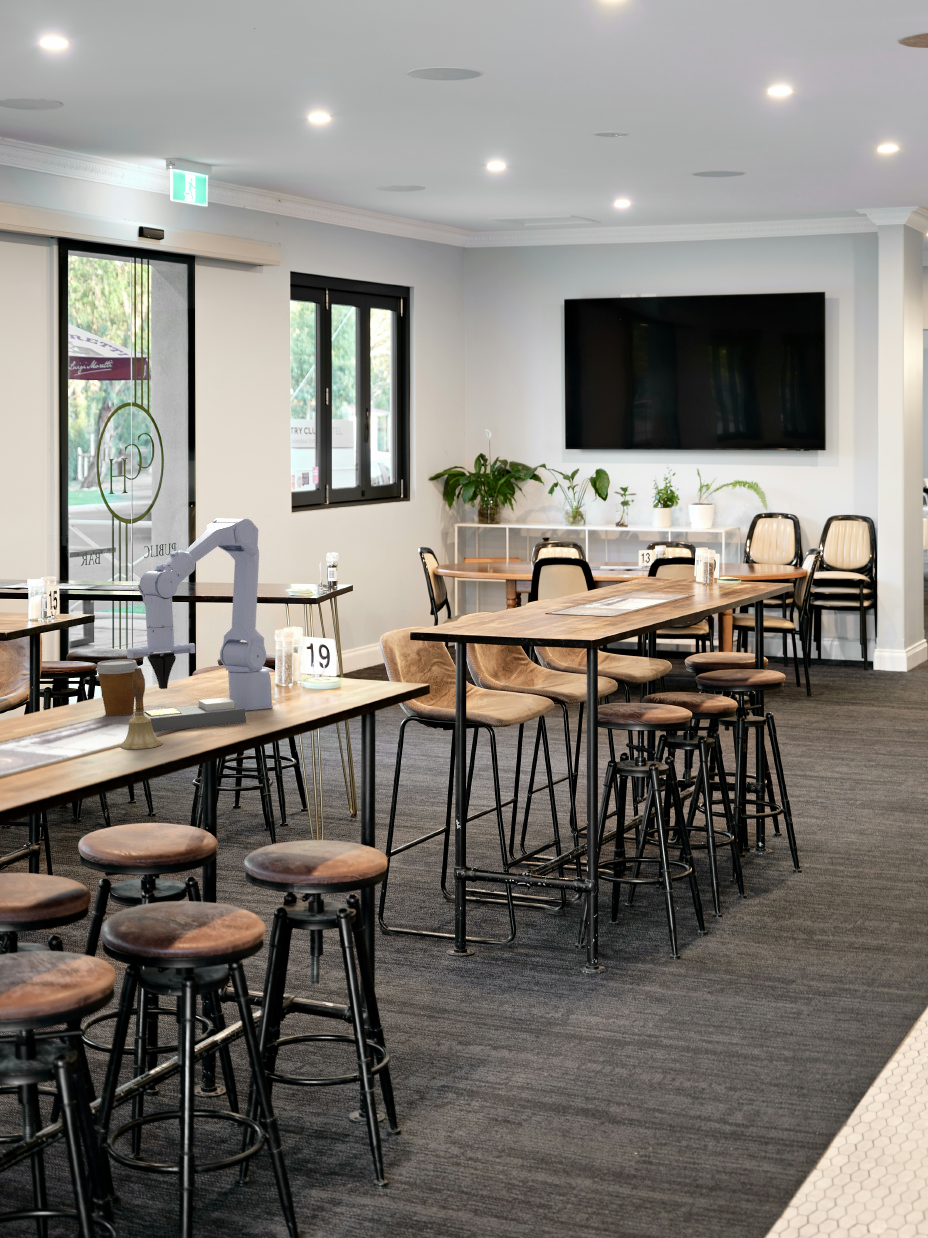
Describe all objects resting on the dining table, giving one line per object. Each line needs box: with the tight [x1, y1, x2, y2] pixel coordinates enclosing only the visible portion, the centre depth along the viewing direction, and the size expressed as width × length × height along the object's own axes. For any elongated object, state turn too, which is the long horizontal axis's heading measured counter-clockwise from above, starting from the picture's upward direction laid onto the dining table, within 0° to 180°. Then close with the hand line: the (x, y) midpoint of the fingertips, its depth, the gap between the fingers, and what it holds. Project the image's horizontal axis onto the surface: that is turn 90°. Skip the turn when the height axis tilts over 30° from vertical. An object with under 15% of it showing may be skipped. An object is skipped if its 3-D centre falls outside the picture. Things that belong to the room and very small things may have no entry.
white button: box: [198, 696, 234, 711], centre depth 326 cm, size 6×6×3 cm
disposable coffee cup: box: [95, 658, 139, 717], centre depth 338 cm, size 10×10×12 cm
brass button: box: [145, 707, 181, 717], centre depth 321 cm, size 6×6×3 cm
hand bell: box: [120, 667, 163, 750], centre depth 299 cm, size 8×8×16 cm
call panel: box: [133, 703, 247, 733], centre depth 324 cm, size 22×11×3 cm, turn 115°
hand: (163, 688), depth 320 cm, fingers closed
